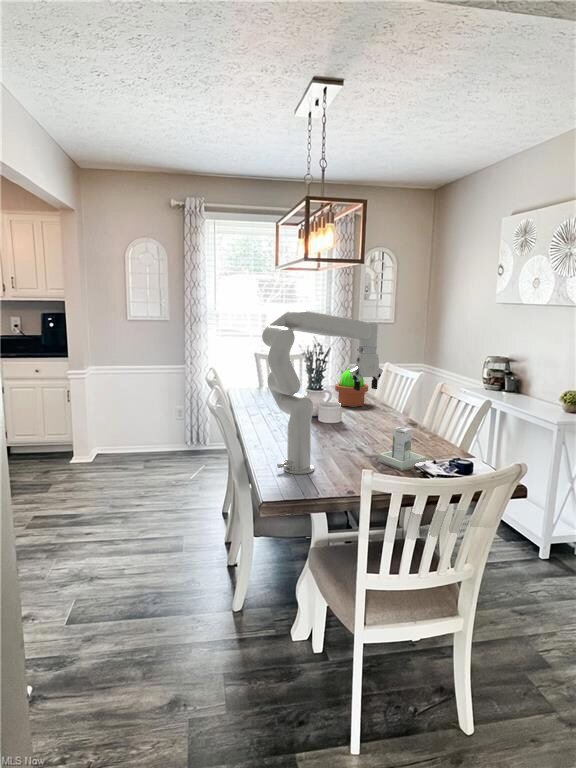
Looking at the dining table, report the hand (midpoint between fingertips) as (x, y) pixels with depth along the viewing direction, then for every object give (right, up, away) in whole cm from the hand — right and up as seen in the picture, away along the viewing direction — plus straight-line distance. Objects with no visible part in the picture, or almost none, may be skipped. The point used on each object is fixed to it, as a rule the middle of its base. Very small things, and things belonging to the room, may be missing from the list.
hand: (365, 389), depth 208 cm
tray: (+15, -32, -3) cm, 35 cm away
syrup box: (+15, -31, -3) cm, 34 cm away
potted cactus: (+9, -12, +115) cm, 115 cm away
